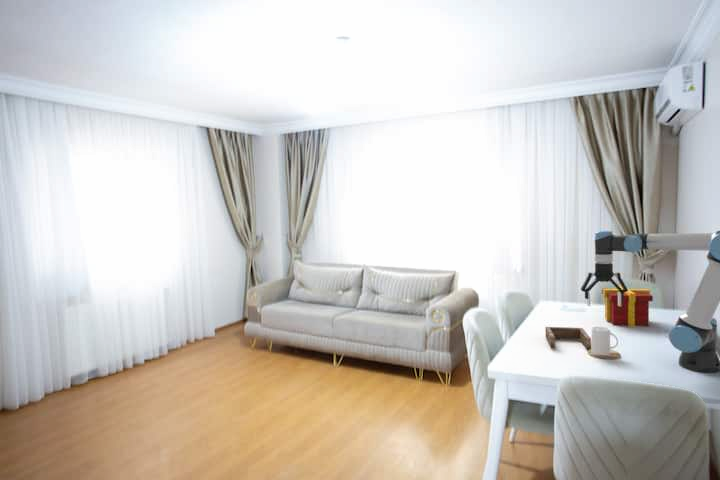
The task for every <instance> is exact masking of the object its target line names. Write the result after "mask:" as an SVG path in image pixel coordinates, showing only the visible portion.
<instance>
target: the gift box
mask: <svg viewBox="0 0 720 480" xmlns="http://www.w3.org/2000/svg"><path fill="white" fill-rule="evenodd" d="M618 286H619V287H620V288H621V289H623V288H622V286H621V285H618ZM627 289H628V291H627V292H624V293H623V299H621V306H618V292H620V291H619V290H618V289H617V288H602V289H601V294H602V296H603V298H605V299H604V300H605V301H604V302H605V303H604V304H605V305H604V308H605V309H604V310H605V312H604V313H605V314H604V317H605V321H606V323H610V324H611V325H613V326H620V327H621V326H624V327H632V328H634V327H649V326H650V325H649V324H650V323H649V317H650V316H649V315H650V314H649V313H650V312H649V311H650V306H649V302H653V299H654V296H653V295H651V290H650V289H644V288H643V289H641V288H640V289H639V288H627Z"/></svg>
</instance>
